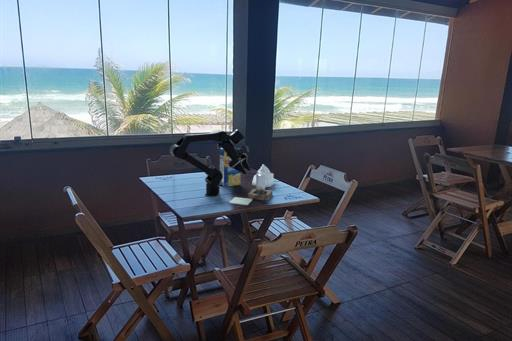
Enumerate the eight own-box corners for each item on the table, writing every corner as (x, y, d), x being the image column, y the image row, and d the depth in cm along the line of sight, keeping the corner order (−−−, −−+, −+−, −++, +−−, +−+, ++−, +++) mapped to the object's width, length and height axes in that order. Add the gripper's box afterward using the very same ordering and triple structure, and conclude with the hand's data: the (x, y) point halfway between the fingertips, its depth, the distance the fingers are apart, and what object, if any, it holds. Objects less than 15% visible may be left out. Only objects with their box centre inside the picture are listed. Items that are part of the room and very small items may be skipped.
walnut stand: (247, 198, 202) (247, 194, 201) (253, 193, 212) (253, 188, 212) (267, 200, 199) (267, 196, 198) (272, 195, 209) (272, 190, 209)
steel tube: (254, 197, 204) (255, 175, 201) (257, 195, 209) (257, 173, 206) (263, 198, 203) (264, 176, 200) (265, 196, 207) (266, 174, 204)
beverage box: (219, 183, 230) (219, 148, 225) (235, 182, 235) (236, 147, 230) (223, 186, 224) (224, 150, 219) (240, 184, 229) (241, 149, 224)
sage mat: (228, 203, 193) (228, 202, 193) (234, 197, 202) (234, 197, 202) (247, 205, 191) (247, 204, 191) (252, 199, 200) (252, 199, 200)
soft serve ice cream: (278, 189, 227) (279, 168, 220) (254, 192, 224) (254, 171, 218) (273, 179, 238) (273, 159, 231) (250, 181, 235) (249, 161, 228)
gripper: (236, 142, 194) (255, 166, 194) (245, 139, 212) (262, 160, 212) (220, 155, 197) (239, 178, 197) (231, 151, 215) (248, 172, 215)
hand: (248, 172), depth 205 cm, fingers open, 9 cm apart
